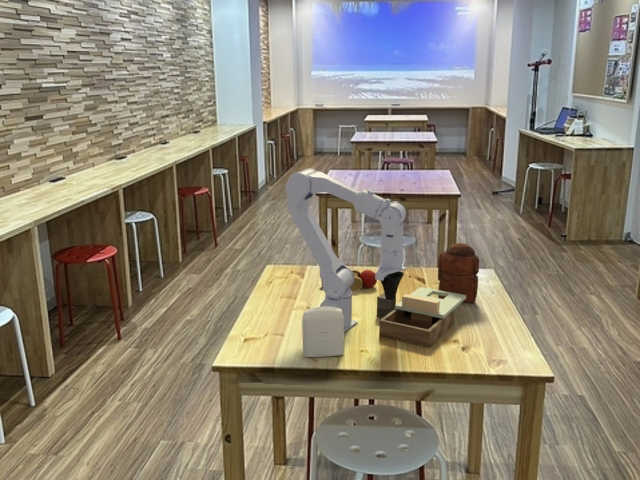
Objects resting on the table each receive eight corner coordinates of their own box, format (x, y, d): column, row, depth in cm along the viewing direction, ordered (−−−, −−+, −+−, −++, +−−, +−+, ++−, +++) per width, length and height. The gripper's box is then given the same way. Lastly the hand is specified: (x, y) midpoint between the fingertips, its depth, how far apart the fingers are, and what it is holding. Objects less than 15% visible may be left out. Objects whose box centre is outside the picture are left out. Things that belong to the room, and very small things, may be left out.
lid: (443, 318, 162) (444, 304, 161) (395, 308, 169) (395, 294, 168) (465, 298, 177) (466, 285, 176) (420, 290, 184) (421, 277, 183)
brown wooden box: (429, 347, 155) (429, 331, 154) (379, 336, 162) (379, 320, 161) (453, 324, 170) (454, 309, 169) (406, 314, 177) (407, 299, 176)
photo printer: (303, 359, 149) (302, 311, 146) (301, 351, 153) (301, 304, 150) (345, 357, 150) (345, 309, 147) (342, 349, 154) (343, 303, 151)
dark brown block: (389, 319, 173) (390, 299, 172) (376, 316, 176) (377, 297, 174) (395, 315, 177) (396, 295, 175) (382, 312, 179) (383, 293, 177)
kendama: (322, 296, 196) (378, 288, 196) (320, 276, 196) (376, 269, 195) (323, 292, 204) (377, 285, 203) (320, 273, 204) (374, 266, 203)
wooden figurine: (474, 297, 191) (477, 241, 187) (477, 304, 185) (481, 246, 180) (435, 295, 192) (438, 240, 188) (437, 303, 186) (440, 245, 182)
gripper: (393, 258, 151) (392, 310, 155) (417, 245, 163) (415, 293, 167) (368, 254, 155) (367, 305, 158) (392, 241, 167) (391, 289, 170)
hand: (390, 298), depth 163 cm, fingers closed
